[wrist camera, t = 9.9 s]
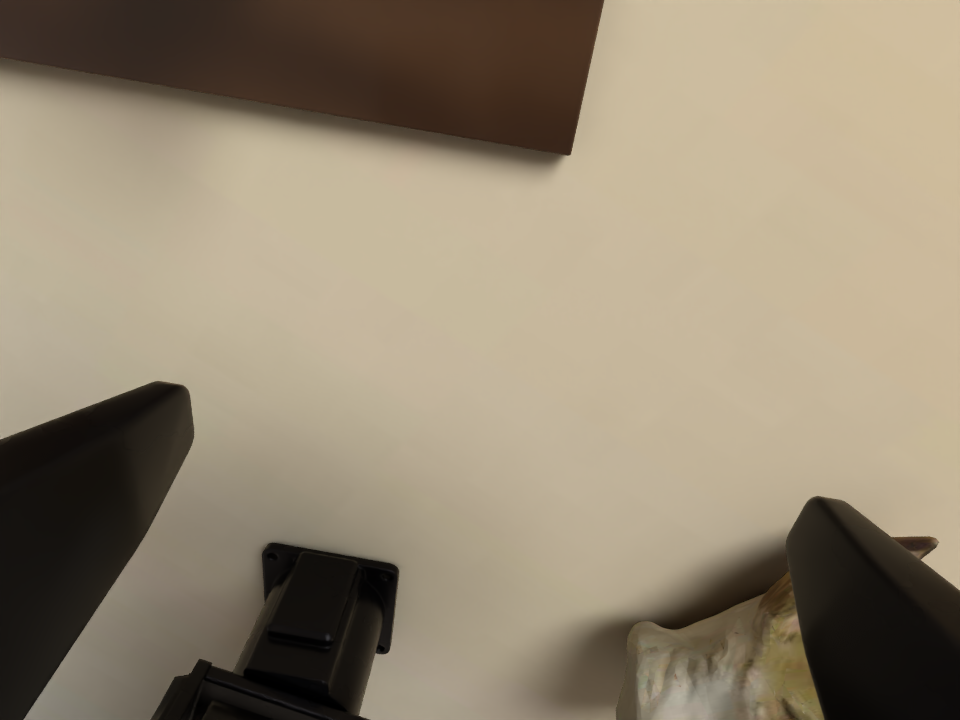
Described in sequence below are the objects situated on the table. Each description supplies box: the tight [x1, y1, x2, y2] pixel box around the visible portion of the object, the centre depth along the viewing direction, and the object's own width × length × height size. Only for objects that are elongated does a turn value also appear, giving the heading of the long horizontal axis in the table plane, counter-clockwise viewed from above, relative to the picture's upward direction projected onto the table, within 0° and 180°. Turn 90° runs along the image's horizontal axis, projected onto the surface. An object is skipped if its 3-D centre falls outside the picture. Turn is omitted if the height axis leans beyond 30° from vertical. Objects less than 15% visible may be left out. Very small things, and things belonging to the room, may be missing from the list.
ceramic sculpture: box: [616, 537, 939, 720], centre depth 25 cm, size 11×9×15 cm
